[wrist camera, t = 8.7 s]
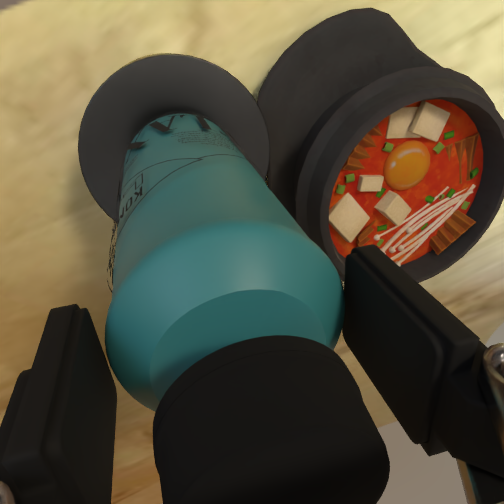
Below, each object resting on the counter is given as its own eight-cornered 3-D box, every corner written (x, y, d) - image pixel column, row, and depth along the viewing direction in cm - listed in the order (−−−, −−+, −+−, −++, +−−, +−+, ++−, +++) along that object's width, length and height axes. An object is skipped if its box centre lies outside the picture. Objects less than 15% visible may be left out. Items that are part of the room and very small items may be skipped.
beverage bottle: (238, 108, 23) (545, 336, 6) (230, 216, 26) (412, 577, 9) (117, 100, 21) (29, 392, 4) (124, 217, 24) (89, 668, 7)
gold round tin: (113, 216, 32) (107, 257, 26) (69, 58, 26) (49, 66, 20) (251, 193, 34) (274, 227, 28) (238, 42, 28) (264, 44, 22)
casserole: (486, 207, 41) (559, 244, 34) (336, 310, 42) (375, 365, 35) (404, -51, 28) (495, -81, 21) (193, 110, 30) (209, 135, 22)
